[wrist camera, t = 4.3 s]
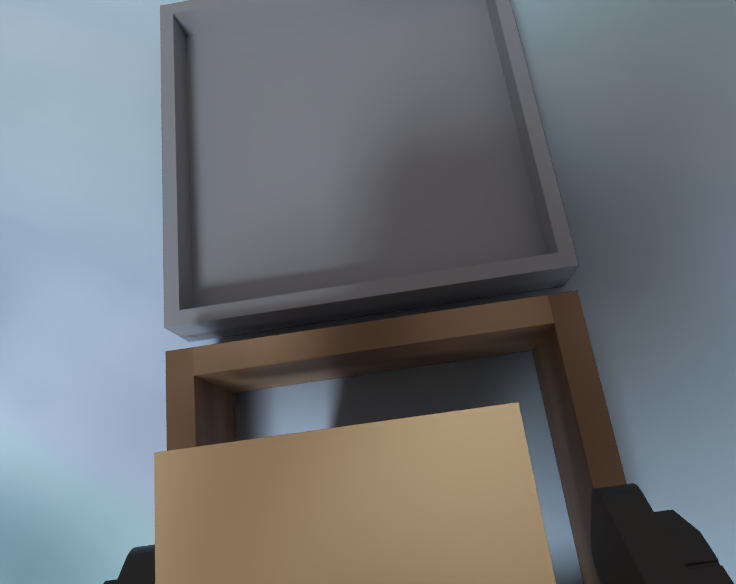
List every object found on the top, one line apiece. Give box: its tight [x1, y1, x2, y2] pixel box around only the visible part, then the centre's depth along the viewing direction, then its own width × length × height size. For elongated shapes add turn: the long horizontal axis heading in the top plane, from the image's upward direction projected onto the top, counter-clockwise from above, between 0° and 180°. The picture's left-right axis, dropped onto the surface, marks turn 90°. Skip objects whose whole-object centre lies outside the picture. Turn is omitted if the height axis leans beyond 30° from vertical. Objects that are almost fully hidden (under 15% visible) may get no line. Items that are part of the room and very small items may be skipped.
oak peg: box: [154, 402, 556, 584], centre depth 12 cm, size 4×4×12 cm
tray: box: [160, 0, 579, 342], centre depth 21 cm, size 13×13×2 cm
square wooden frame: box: [166, 291, 626, 584], centre depth 16 cm, size 12×12×4 cm
